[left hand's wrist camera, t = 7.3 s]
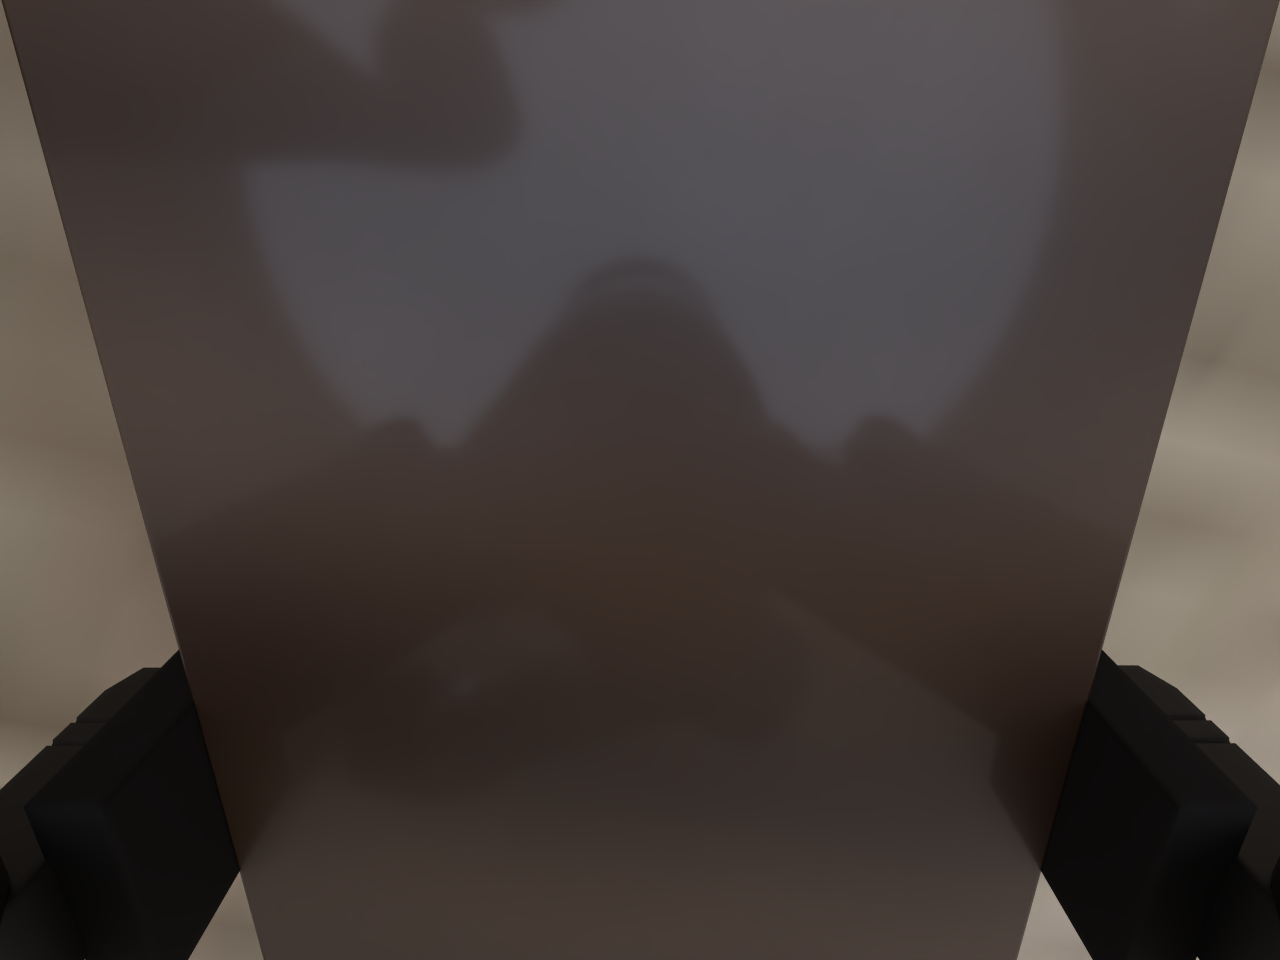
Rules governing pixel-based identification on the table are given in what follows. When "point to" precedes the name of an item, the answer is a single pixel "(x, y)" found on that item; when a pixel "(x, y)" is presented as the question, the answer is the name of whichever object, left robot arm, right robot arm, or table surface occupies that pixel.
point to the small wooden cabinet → (640, 438)
